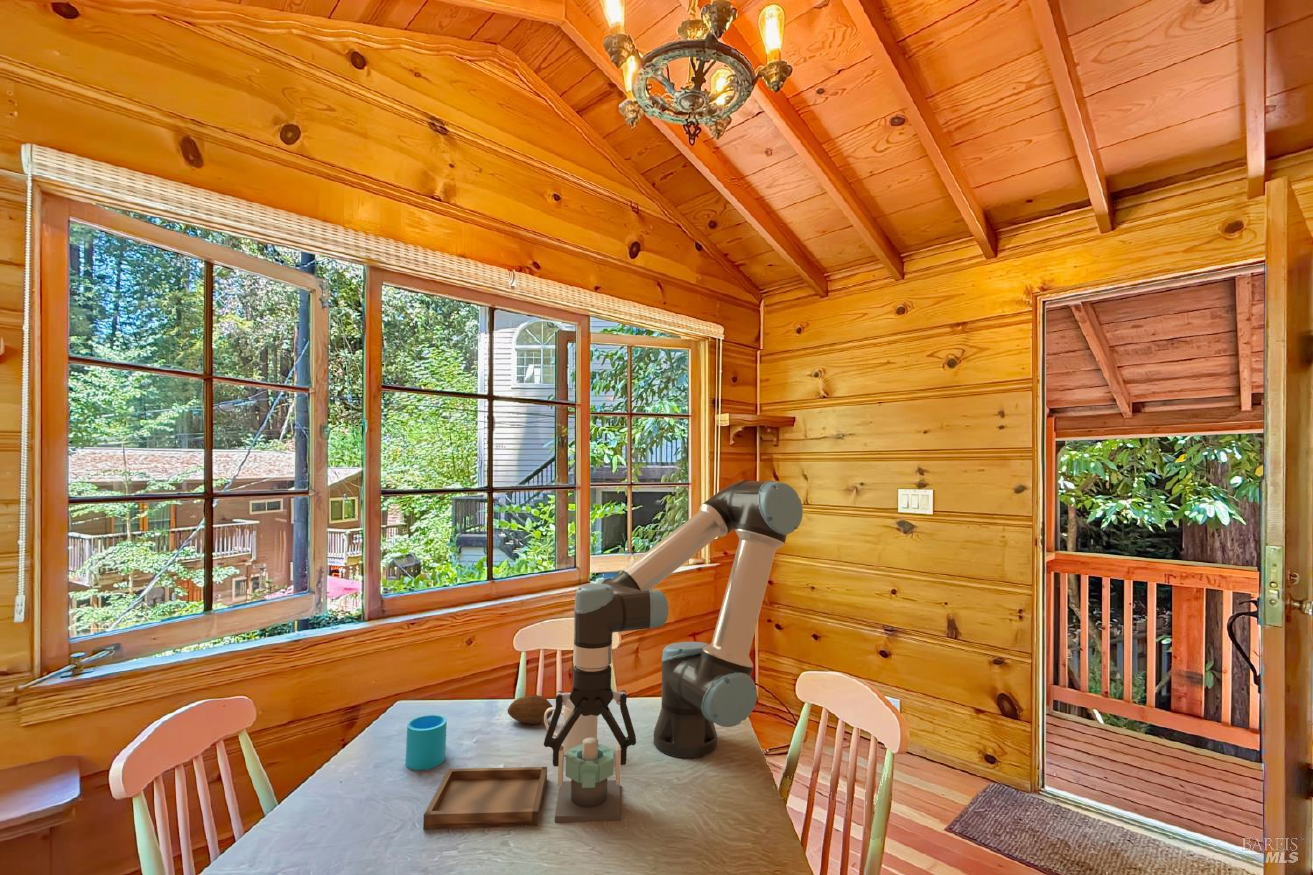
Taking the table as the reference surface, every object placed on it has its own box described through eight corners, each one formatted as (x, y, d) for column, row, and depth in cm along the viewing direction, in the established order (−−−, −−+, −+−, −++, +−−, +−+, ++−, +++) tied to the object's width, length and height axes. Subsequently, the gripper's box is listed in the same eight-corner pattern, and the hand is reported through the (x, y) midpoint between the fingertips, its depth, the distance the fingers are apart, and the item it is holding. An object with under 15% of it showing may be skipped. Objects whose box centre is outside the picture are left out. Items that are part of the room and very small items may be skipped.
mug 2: (596, 742, 137) (597, 696, 137) (597, 758, 129) (598, 710, 130) (544, 744, 135) (545, 698, 136) (541, 760, 127) (543, 712, 128)
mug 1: (434, 771, 122) (436, 731, 123) (397, 768, 123) (399, 729, 124) (458, 745, 134) (460, 709, 135) (425, 742, 135) (426, 707, 135)
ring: (612, 758, 117) (613, 743, 117) (613, 786, 106) (613, 770, 106) (567, 759, 116) (568, 744, 116) (563, 788, 105) (564, 771, 106)
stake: (619, 784, 118) (620, 727, 119) (620, 819, 106) (621, 755, 107) (560, 786, 117) (561, 728, 118) (554, 821, 105) (556, 756, 106)
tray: (546, 779, 120) (547, 766, 120) (537, 825, 104) (537, 811, 104) (448, 781, 118) (448, 768, 118) (423, 829, 102) (423, 814, 102)
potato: (510, 716, 150) (511, 689, 151) (555, 717, 150) (556, 690, 151) (504, 728, 143) (505, 699, 144) (551, 728, 144) (552, 700, 144)
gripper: (649, 658, 118) (647, 770, 117) (535, 659, 116) (532, 773, 115) (651, 671, 111) (649, 790, 109) (530, 672, 109) (526, 793, 107)
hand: (589, 781), depth 112 cm, fingers open, 10 cm apart
